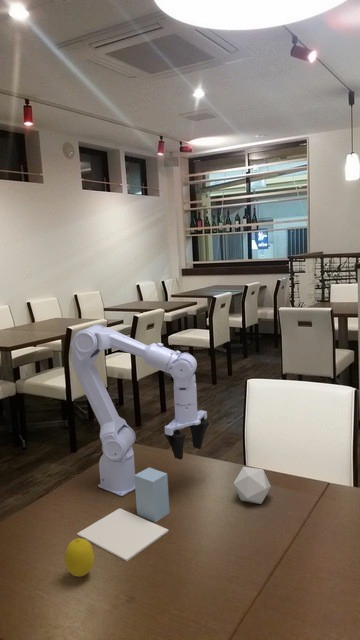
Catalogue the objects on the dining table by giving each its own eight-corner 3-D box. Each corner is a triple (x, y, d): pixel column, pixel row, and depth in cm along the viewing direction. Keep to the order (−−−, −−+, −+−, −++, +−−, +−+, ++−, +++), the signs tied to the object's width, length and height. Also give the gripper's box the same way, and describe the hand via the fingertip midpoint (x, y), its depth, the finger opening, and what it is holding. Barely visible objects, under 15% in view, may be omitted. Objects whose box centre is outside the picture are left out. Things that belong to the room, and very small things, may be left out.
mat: (77, 534, 110) (77, 533, 110) (119, 509, 120) (119, 508, 120) (126, 561, 100) (126, 559, 100) (168, 531, 110) (168, 529, 110)
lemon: (100, 569, 98) (97, 532, 97) (86, 588, 93) (83, 549, 92) (76, 565, 100) (73, 528, 99) (61, 582, 95) (57, 544, 94)
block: (137, 514, 118) (134, 475, 116) (152, 505, 122) (149, 467, 120) (155, 522, 114) (152, 482, 112) (170, 512, 118) (167, 473, 116)
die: (275, 497, 124) (257, 461, 127) (277, 496, 116) (258, 458, 119) (245, 511, 123) (228, 474, 127) (246, 511, 115) (228, 472, 119)
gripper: (179, 413, 116) (181, 467, 118) (215, 397, 127) (217, 446, 129) (157, 407, 121) (160, 460, 123) (194, 392, 132) (196, 441, 134)
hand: (188, 452), depth 126 cm, fingers open, 7 cm apart
